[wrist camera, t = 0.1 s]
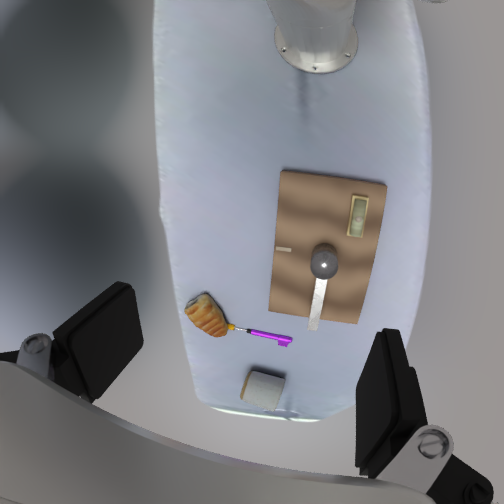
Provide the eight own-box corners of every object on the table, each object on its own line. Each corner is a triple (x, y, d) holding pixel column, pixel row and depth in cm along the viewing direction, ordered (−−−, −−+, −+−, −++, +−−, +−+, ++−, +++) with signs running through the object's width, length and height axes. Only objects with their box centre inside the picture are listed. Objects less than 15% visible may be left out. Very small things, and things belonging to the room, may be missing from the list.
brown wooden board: (282, 170, 43) (277, 173, 39) (384, 184, 40) (391, 189, 36) (270, 305, 53) (265, 319, 48) (356, 317, 49) (358, 333, 45)
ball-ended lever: (313, 241, 44) (312, 252, 40) (339, 245, 43) (340, 256, 39) (302, 315, 49) (299, 329, 45) (324, 318, 48) (324, 333, 44)
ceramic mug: (250, 362, 59) (240, 388, 52) (287, 372, 58) (281, 399, 51) (244, 391, 64) (235, 415, 57) (277, 400, 62) (270, 425, 55)
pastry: (238, 324, 56) (231, 336, 52) (215, 337, 59) (208, 348, 55) (206, 288, 55) (198, 298, 51) (184, 304, 57) (176, 314, 54)
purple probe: (293, 336, 54) (214, 318, 57) (291, 341, 53) (212, 322, 56) (291, 344, 56) (215, 326, 59) (290, 349, 55) (213, 330, 58)
